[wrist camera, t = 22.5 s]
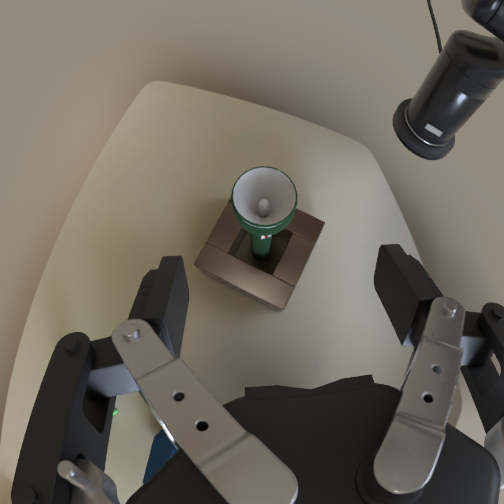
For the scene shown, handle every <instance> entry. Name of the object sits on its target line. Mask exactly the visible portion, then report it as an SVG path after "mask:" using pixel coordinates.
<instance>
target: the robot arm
mask: <svg viewBox="0 0 504 504" xmlns="http://www.w3.org/2000/svg"><path fill="white" fill-rule="evenodd" d="M427 2H428V6H429V10H430V14H431V18H432V21H433V25H434V29H435V34H436V38H437V44H438V49H439V54H440V55H439V57H438V58H437V60H436V62H435V63H434V65H433V67H432V68H431V70H430V72H429V73H428V75H427V77H426V78H425V80H424V81H423V83H422V85H421V86H420V88H419V89H418V91H417V93H416V94H415V96H414V98H413V99H412V101H411V102H410V104H409V105H408V106H407V107H406V109H405V111H404V121H405V124H406V126H407V128H408V130H409V131H410V133H411V134H412V135H413V136H414V137H415V138H416V139H417V140H419V141H420V142H421V143H423V144H425V145H427V146H430V147H434V148H440V147H443V146H445V145H446V144H447V143H448V142H449V141H450V139H451V138H452V137H453V136H454V134H455V133H456V132H457V131H458V130H459V129H460V128H461V127H462V126H463V125H464V124H465V123H466V121H467V120H468V119H469V118H470V117H471V116H472V115H473V114H474V112H476V110H477V109H478V108H479V107H480V106H481V105H482V104H483V102H484V101H485V100H486V99H487V98H488V97H489V95H490V94H491V93H492V92H493V91H494V90H495V89H496V87H497V86H498V85H499V84H500V83H501V81H503V80H504V0H461V2H462V7H463V9H464V11H465V12H466V13H467V14H468V15H469V16H470V17H471V18H472V19H473V20H474V21H475V22H477V23H478V24H479V25H481V26H482V27H484V28H485V29H486V30H488V31H489V32H491V33H492V34H493V35H495V36H496V37H488V36H483V35H480V34H477V33H474V32H471V31H467V30H457V31H455V32H454V33H452V35H451V36H450V37H449V39H448V41H447V43H446V44H445V46H444V48H443V50H442V46H441V41H440V36H439V32H438V28H437V24H436V21H435V17H434V14H433V10H432V7H431V3H430V0H427ZM374 286H375V290H376V292H377V294H378V296H379V298H380V300H381V302H382V304H383V306H384V308H385V310H386V312H387V314H388V317H389V319H390V321H391V323H392V325H393V327H394V329H395V331H396V334H397V336H398V338H399V340H400V342H401V345H402V346H407V345H413V346H414V350H413V352H412V355H411V357H410V360H409V363H408V365H407V368H406V371H405V373H404V376H403V378H402V381H401V383H400V386H399V388H398V389H396V388H394V387H391V386H388V385H384V384H378V383H374V381H373V377H372V374H371V375H364V376H358V377H351V378H344V379H340V380H337V381H335V382H332V383H329V384H326V385H324V386H321V387H318V388H315V389H302V388H294V387H286V386H278V385H276V386H260V387H245V396H244V397H241V398H238V399H235V400H233V401H231V402H229V403H227V404H225V405H223V406H222V405H221V404H220V403H219V402H218V401H217V399H216V398H215V397H214V396H213V395H212V394H211V393H210V392H209V390H208V389H207V388H206V387H205V386H204V385H203V384H202V382H201V381H200V380H199V379H198V378H197V377H196V375H195V374H194V373H193V372H192V371H191V369H190V368H189V367H188V366H187V365H186V364H185V362H184V361H183V360H182V359H181V358H180V350H181V344H182V338H183V332H184V326H185V320H186V315H187V309H188V303H189V288H188V283H187V278H186V273H185V268H184V263H183V258H182V256H166V257H162V260H161V262H160V265H159V268H158V269H154V270H150V271H149V272H148V273H147V274H146V275H145V276H144V277H143V279H142V282H141V285H140V288H139V290H138V292H137V296H136V298H135V301H134V303H133V306H132V309H131V312H130V314H129V317H128V320H126V321H124V322H122V323H120V324H119V325H118V326H117V327H116V328H115V329H114V331H113V333H112V336H110V337H107V338H103V339H99V340H95V341H90V339H89V337H88V336H87V335H86V334H84V333H81V332H74V333H70V334H67V335H66V336H64V337H63V338H61V339H60V340H59V342H58V343H57V345H56V347H55V349H54V352H53V354H52V357H51V359H50V362H49V364H48V367H47V370H46V372H45V375H44V378H43V381H42V383H41V386H40V389H39V392H38V395H37V398H36V401H35V404H34V407H33V410H32V413H31V416H30V419H29V423H28V426H27V429H26V433H25V436H24V440H23V444H22V447H21V451H20V455H19V459H18V463H17V467H16V472H15V476H14V481H13V486H12V491H11V500H12V504H120V503H119V501H118V498H117V489H116V485H115V483H114V481H113V480H112V479H111V478H110V477H109V476H108V475H107V474H105V473H104V469H105V462H106V455H107V448H108V441H109V435H110V429H111V423H112V417H113V412H114V406H115V401H116V396H117V395H121V394H125V393H130V392H134V391H138V392H139V394H140V395H141V397H142V398H143V400H144V401H145V403H146V405H147V406H148V408H149V409H150V411H151V412H152V414H153V415H154V417H155V418H156V420H157V421H158V423H159V424H160V426H161V427H162V429H163V430H164V432H165V433H166V435H167V436H168V438H169V439H170V441H171V442H172V443H173V445H174V446H175V448H176V449H177V450H178V451H177V452H176V453H175V454H174V455H173V456H172V457H171V458H170V459H169V460H168V461H167V462H166V463H165V464H164V465H163V466H162V467H161V468H160V469H159V470H158V471H157V472H156V473H155V474H154V475H153V476H152V477H151V478H150V479H149V480H148V481H147V482H145V483H144V484H143V485H142V486H141V487H140V488H139V489H138V490H137V491H136V492H135V493H134V494H133V495H132V496H131V497H130V498H129V499H128V501H127V502H126V504H498V499H499V492H500V489H502V488H504V307H503V306H501V305H500V304H497V303H487V304H485V305H484V306H483V308H482V311H481V313H476V312H467V311H465V310H464V308H463V306H462V305H461V304H460V303H459V302H458V301H456V300H454V299H452V298H449V297H444V296H443V295H442V293H441V292H440V290H439V289H438V287H437V286H436V285H435V283H434V282H433V280H432V279H431V278H430V277H429V275H428V273H427V272H426V271H425V269H424V268H423V266H422V265H421V263H420V262H419V261H418V260H416V259H415V258H413V257H412V256H411V255H407V254H406V253H405V252H404V250H403V249H402V247H401V246H400V245H399V244H388V245H381V246H380V248H379V253H378V258H377V263H376V269H375V274H374ZM493 353H494V354H495V355H496V357H497V359H498V361H499V363H500V366H501V374H500V376H499V374H498V372H497V370H496V368H495V366H494V364H493V362H492V360H491V357H492V355H493ZM460 370H461V372H462V374H463V376H464V378H465V381H466V383H467V386H468V388H469V391H470V393H471V396H472V398H473V400H474V403H475V405H476V408H477V411H478V413H479V416H480V419H481V421H482V424H483V427H484V430H485V432H486V437H485V441H484V446H485V448H484V447H483V446H481V445H480V444H478V443H477V442H475V441H474V440H472V439H471V438H469V437H468V436H466V435H465V434H463V433H462V432H460V431H459V430H458V429H456V428H455V427H453V426H452V425H450V424H449V423H447V420H448V417H449V413H450V410H451V406H452V402H453V398H454V394H455V390H456V386H457V382H458V377H459V373H460Z"/></svg>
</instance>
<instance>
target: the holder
mask: <svg viewBox="0 0 504 504" xmlns="http://www.w3.org/2000/svg"><path fill="white" fill-rule="evenodd" d="M324 224H325V222H323V221H321V220H319V219H317V218H315V217H313V216H311V215H309V214H307V213H305V212H302V211H300V210H298V209H295V212H294V216H293V218H292V220H291V221H290V223H289V224H288V226H287V227H285V228H284V229H283V230H282V231H280V232H278V233H276V234H273V235H274V236H276V237H278V238H280V239H282V240H284V241H287V242H288V244H287V246H286V248H285V250H284V252H283V254H282V256H281V258H280V260H279V262H278V264H277V266H276V268H275V270H274V272H273V274H272V275H270V274H268V273H266V272H264V271H262V270H260V269H258V268H256V267H254V266H252V265H250V264H248V263H246V262H244V261H242V260H240V259H238V258H236V257H234V254H235V252H236V251H237V249H238V247H239V245H240V243H241V241H242V239H243V237H244V235H245V234H246V232H247V231H246V230H245V229H243V228H242V227H241V226H240V225H239V224H238V222H237V220H236V218H235V216H234V214H233V209H232V203H231V198H230V200H229V202H228V204H227V205H226V207H225V209H224V211H223V212H222V214H221V216H220V218H219V220H218V221H217V223H216V225H215V227H214V229H213V230H212V232H211V234H210V236H209V238H208V239H207V241H206V243H205V245H204V246H203V248H202V250H201V252H200V254H199V256H198V257H197V259H196V261H195V263H194V265H195V266H196V267H197V268H198V269H199V270H200V271H201V272H203V273H205V274H207V275H209V276H211V277H212V278H214V279H216V280H218V281H220V282H222V283H224V284H226V285H228V286H230V287H232V288H234V289H236V290H238V291H240V292H242V293H244V294H246V295H248V296H250V297H252V298H254V299H256V300H258V301H260V302H262V303H264V304H266V305H268V306H270V307H272V308H274V309H276V310H278V311H280V312H281V311H282V310H284V308H285V306H286V304H287V302H288V300H289V298H290V296H291V294H292V292H293V290H294V288H295V286H296V284H297V282H298V280H299V278H300V276H301V273H302V271H303V269H304V267H305V265H306V263H307V261H308V259H309V257H310V254H311V252H312V250H313V248H314V246H315V244H316V242H317V239H318V237H319V235H320V233H321V231H322V229H323V226H324Z"/></svg>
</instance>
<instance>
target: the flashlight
mask: <svg viewBox="0 0 504 504" xmlns="http://www.w3.org/2000/svg"><path fill="white" fill-rule="evenodd" d="M231 203H232V209H233V214H234V216H235V218H236V220H237V222H238V224H239V225H240V226H241V227H242V228H243V229H245V230H246V231H248V232H250V233H251V242H252V255H253V257H254V258H255V259H256V260H258V261H262V260H265V259H266V258H267V257H268V254H269V249H270V244H271V239H272V235H273V234H276V233H278V232H280V231H282V230H283V229H284V228H285V227H287V226H288V224H289V223H290V221H291V220H292V218H293V216H294V212H295V209H296V206H297V191H296V188H295V185H294V184H293V182H292V180H291V179H290V178H289V177H288V176H287V175H286V174H285V173H284V172H282V171H280V170H278V169H276V168H272V167H263V166H261V167H256V168H252V169H250V170H248V171H246V172H245V173H243V174H242V175H241V176H240V177H239V178H238V180H237V181H236V182H235V184H234V187H233V189H232V195H231Z"/></svg>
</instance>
